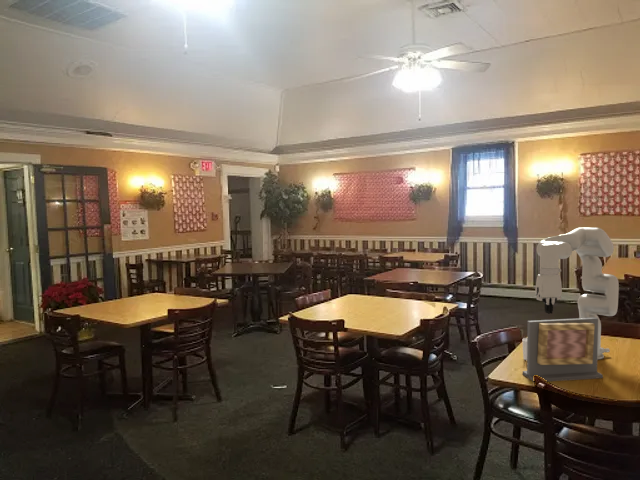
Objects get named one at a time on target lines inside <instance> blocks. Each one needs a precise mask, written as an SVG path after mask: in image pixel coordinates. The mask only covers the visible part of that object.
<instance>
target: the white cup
mask: <svg viewBox="0 0 640 480" xmlns="http://www.w3.org/2000/svg"><path fill="white" fill-rule="evenodd" d="M522 357H523V360H524V361H526V362H527V337H523V338H522Z"/></svg>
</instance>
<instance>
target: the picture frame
mask: <svg viewBox="0 0 640 480" xmlns="http://www.w3.org/2000/svg"><path fill="white" fill-rule="evenodd" d="M594 327H595V324H593V323H590V322H589V323H539V335H538V357H537V363H538V364H540V365H563V364H592V363H593V345H594Z"/></svg>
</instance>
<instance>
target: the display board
mask: <svg viewBox="0 0 640 480" xmlns="http://www.w3.org/2000/svg"><path fill="white" fill-rule="evenodd" d="M598 318H599V317H598ZM598 318H579V317H578V318H560V319H559V318H558V319H541V320H536V319H535V320H527V322H526V323H527V324H526V325H527V333H526V334H527V335H526V338H527V361H526V370H522V375H523V376H524V377H526V378H528V379H529V380H530V381H531V380H532V382H533V376H534V375H538V376H540V377H542V378H544V379H545V380H547V381H546V382H558V381H560V382H561V381H576V380H594V379H595V380H596V379H603V377H604V376H603V374H602V373H601V372H598V360H597V349H598ZM589 322H590V323H593V324H595V327H594V345H593V363H592V364H563V365H540V364H538V363H537V357H538V335H539V323H589Z"/></svg>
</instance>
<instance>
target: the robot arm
mask: <svg viewBox="0 0 640 480" xmlns="http://www.w3.org/2000/svg"><path fill="white" fill-rule="evenodd" d="M614 249H615V246H614V244H613V241H612V240H611V238H610V237H609V235H608V233H607V232H606V231H605V230H604V229H602V228H601V227H587V226H586V227H581V226H579V227H576V228H574V229H573V230H571V231H569V232H567V233H563V234H559V235H554V236H550V237H546V238H544V239H542V240H541V241H539V242H538V244H537V246H536V254H537V256H539V274H537V277H536V281H535V287H534V288H535V291H534V294H535V296H536V300H537V301H540V302H542V303H543V304H544V313H546V314H553V312H554V304H555V302H556V301H559V300H561V299H562V294H563V291H562V290H563V289H562V279H561V275H560V272H562V269H561V268H559V265H560V259H561V260H566V259H568V258H569V257H570V256H571V255H572V253H573V251H575V253H576V254H577V255H578V256H579V258H580V260H581V262H582V268H581V269H582V273H581V275H582V276H581V286H582V287H581V288H582V289H583V290H584V291H586V292H591V293H584V294H581V295H579V297H578V299H577V308H578V314H579V317H578V318H598V349H597V361H598V360H603V359H604V357H605V356H604V354H605V353H610V351H611V350H610V348H604V347H601V346H602V345H601V344H602V341H601V340H602V337H601V336H602V335H601V334H602V321H601V320H600V317H599V316H598V315H600V316H606V317H613V316H615V315H616V314H617V312H618V307H619V292H620V290H619V288H620V287H619V283H620V282H619V279H618V277H617V276H616V275H614V274H610V273H609V274H608V273H603V270H602V269H603V263H602V261H601V258H602V257H604V258H608V257H610V256H612V255H613V253H614ZM592 292H593V293H600V294H604V295H599V294H592Z"/></svg>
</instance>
